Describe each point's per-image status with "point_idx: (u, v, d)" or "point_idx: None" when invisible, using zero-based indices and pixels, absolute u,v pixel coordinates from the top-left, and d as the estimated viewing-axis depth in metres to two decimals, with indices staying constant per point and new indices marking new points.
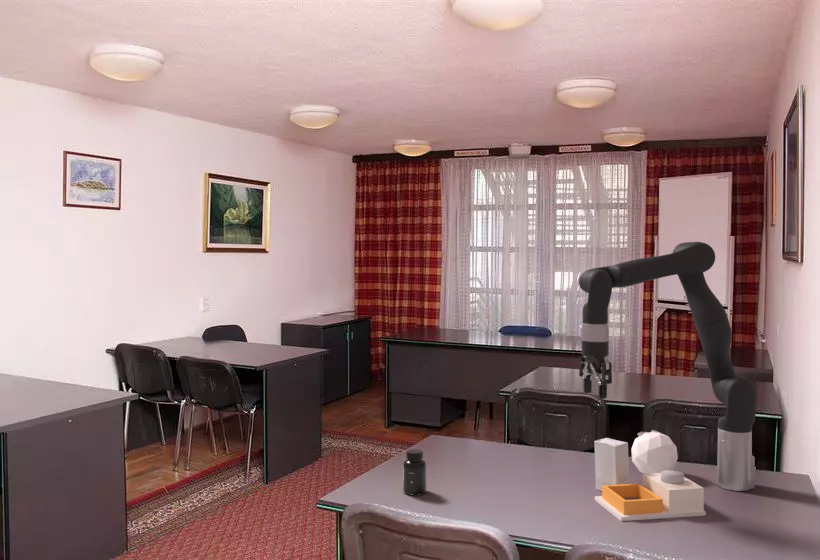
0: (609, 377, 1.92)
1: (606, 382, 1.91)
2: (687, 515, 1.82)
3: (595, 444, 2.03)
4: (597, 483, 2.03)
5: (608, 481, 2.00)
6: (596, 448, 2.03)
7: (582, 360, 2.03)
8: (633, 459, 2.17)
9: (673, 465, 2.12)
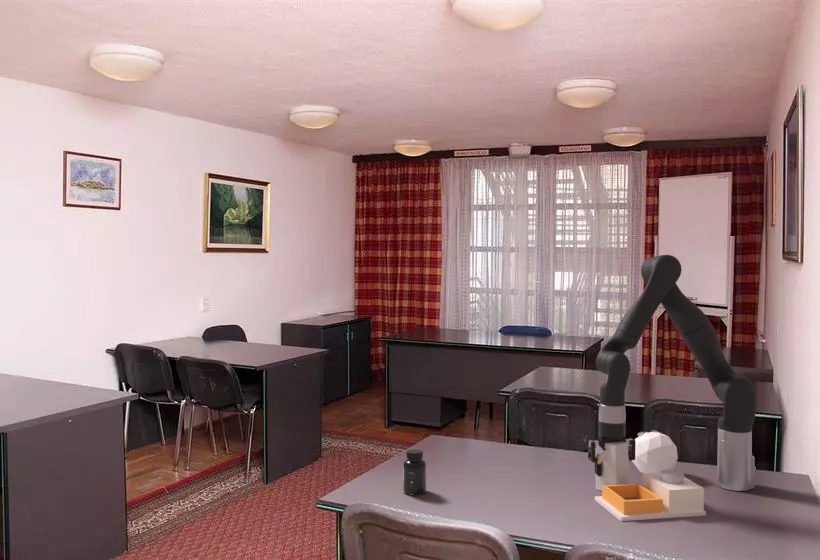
0: (630, 452, 2.04)
1: None
2: (687, 515, 1.82)
3: None
4: (597, 483, 2.03)
5: (608, 481, 2.00)
6: (596, 448, 2.03)
7: None
8: None
9: (673, 465, 2.12)
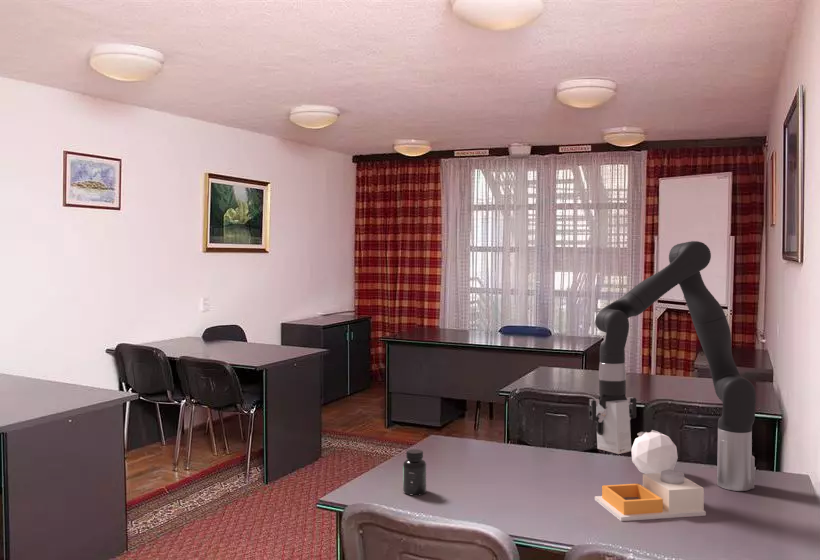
0: (631, 410, 2.03)
1: None
2: (687, 515, 1.82)
3: None
4: (598, 442, 2.02)
5: (609, 439, 1.99)
6: (597, 407, 2.02)
7: None
8: (633, 459, 2.17)
9: (673, 465, 2.12)
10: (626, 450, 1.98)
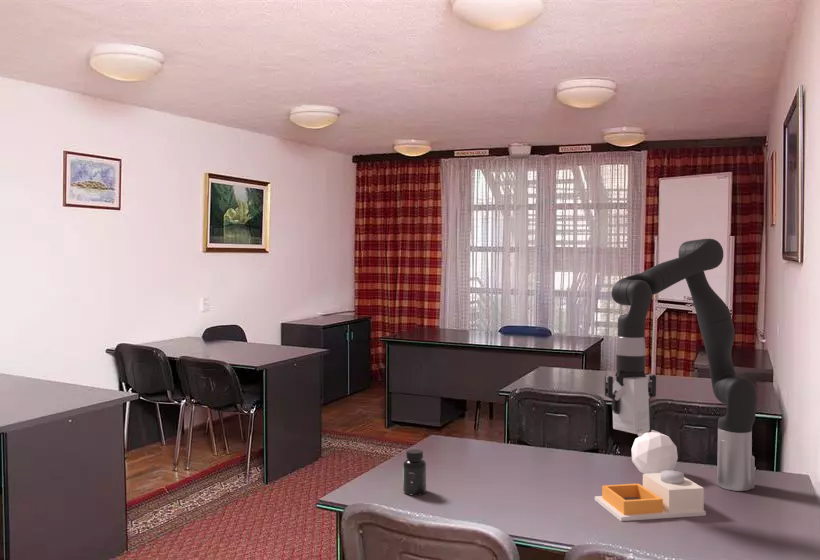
0: (650, 389, 1.90)
1: None
2: (687, 515, 1.82)
3: None
4: (614, 422, 1.89)
5: (626, 418, 1.86)
6: (613, 384, 1.89)
7: None
8: (633, 459, 2.17)
9: (673, 465, 2.12)
10: (644, 430, 1.85)
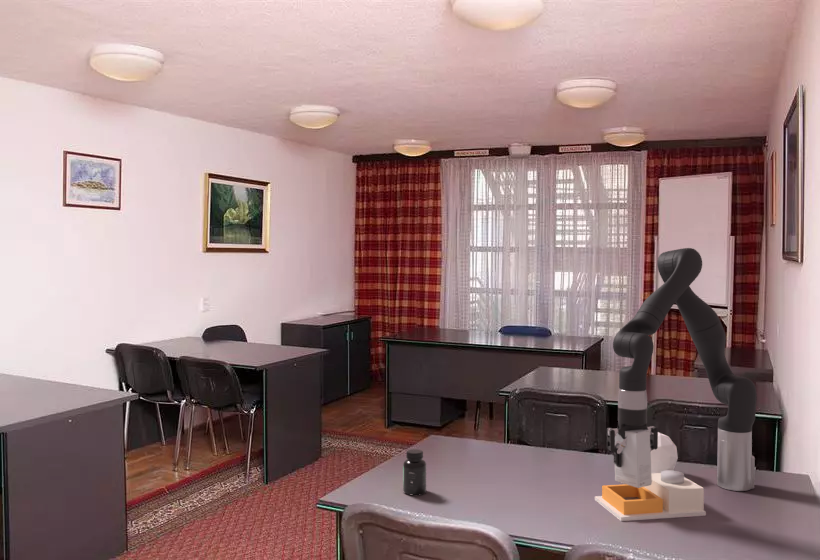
0: (652, 441, 1.89)
1: None
2: (687, 515, 1.82)
3: None
4: (616, 474, 1.89)
5: (628, 472, 1.85)
6: (615, 436, 1.89)
7: None
8: None
9: (673, 465, 2.12)
10: (646, 484, 1.85)
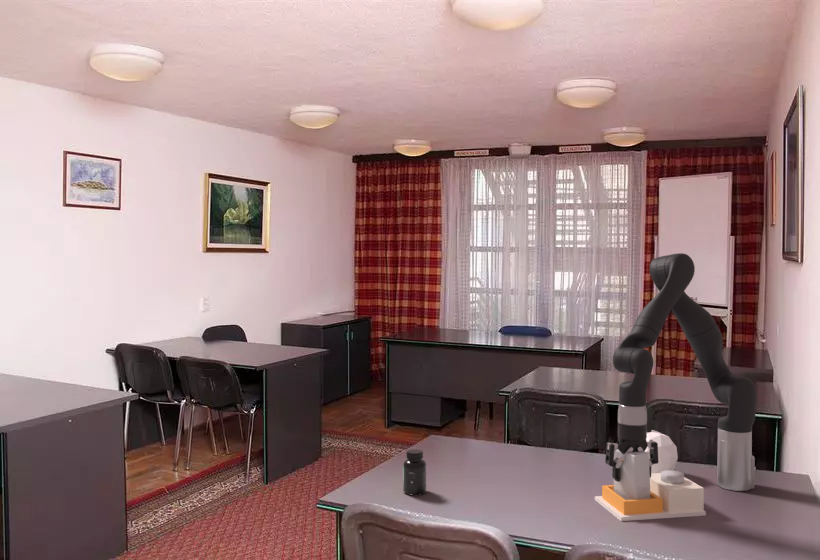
0: (652, 455, 1.89)
1: None
2: (687, 515, 1.82)
3: None
4: None
5: (626, 493, 1.86)
6: (614, 458, 1.89)
7: None
8: None
9: (673, 465, 2.12)
10: None
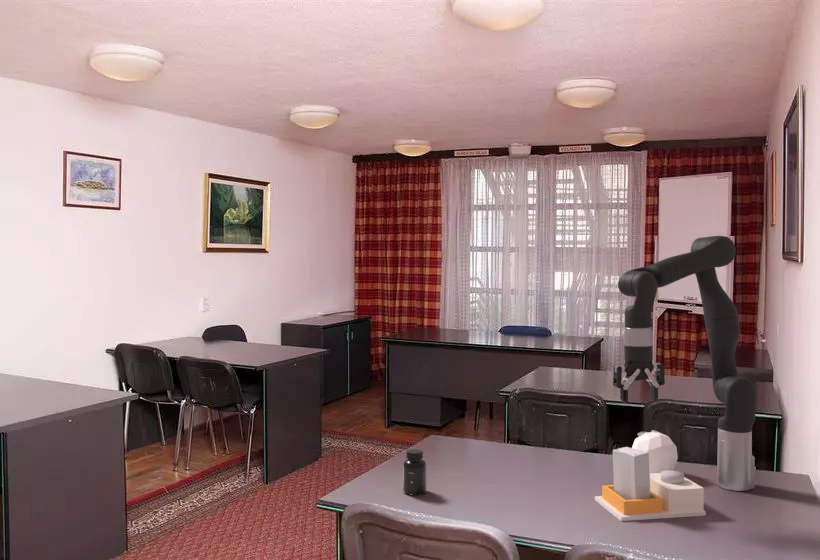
0: (659, 377, 1.93)
1: None
2: (687, 515, 1.82)
3: (613, 453, 1.90)
4: None
5: (626, 493, 1.86)
6: (614, 458, 1.89)
7: None
8: None
9: (673, 465, 2.12)
10: None
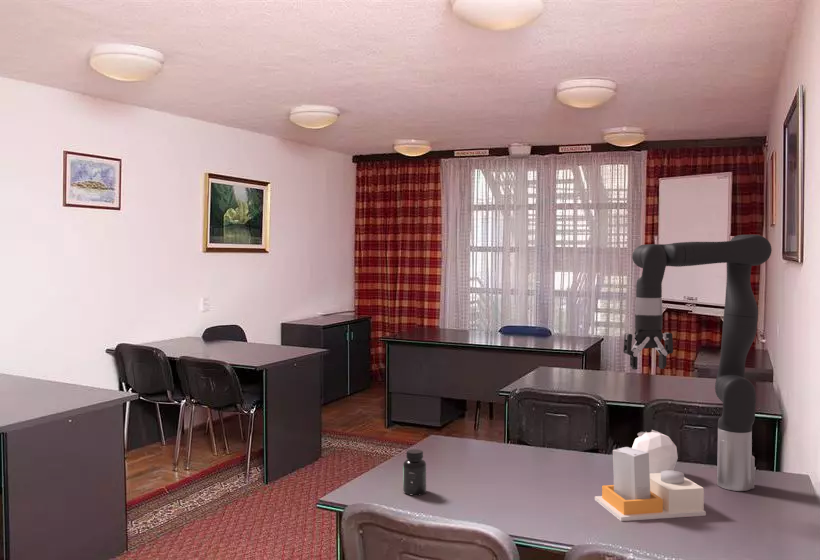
0: (667, 346, 2.02)
1: None
2: (687, 515, 1.82)
3: (613, 453, 1.90)
4: None
5: (626, 493, 1.86)
6: (614, 458, 1.89)
7: None
8: None
9: (673, 465, 2.12)
10: None
